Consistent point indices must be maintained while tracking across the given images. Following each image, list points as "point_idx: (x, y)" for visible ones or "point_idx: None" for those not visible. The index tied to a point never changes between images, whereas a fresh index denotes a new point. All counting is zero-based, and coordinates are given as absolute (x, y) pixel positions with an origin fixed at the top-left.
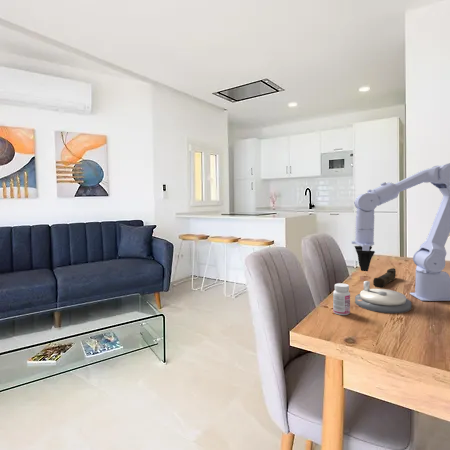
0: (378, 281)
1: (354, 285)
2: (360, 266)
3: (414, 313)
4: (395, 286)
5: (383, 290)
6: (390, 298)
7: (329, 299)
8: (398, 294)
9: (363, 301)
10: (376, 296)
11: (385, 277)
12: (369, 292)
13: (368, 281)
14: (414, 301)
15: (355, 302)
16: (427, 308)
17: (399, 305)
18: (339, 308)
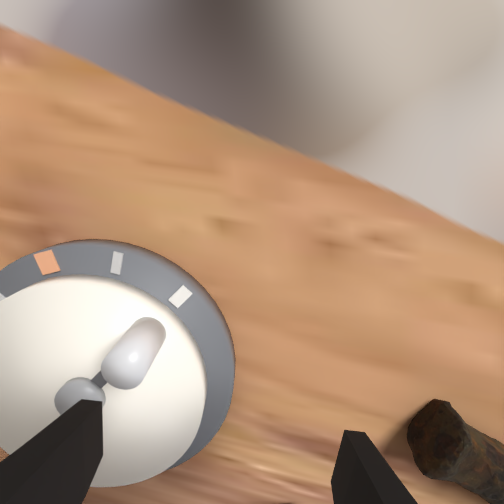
0: (435, 441)
1: (467, 298)
2: (36, 436)
3: None
4: (435, 487)
5: (170, 419)
6: (15, 414)
7: (130, 90)
8: (104, 465)
9: (35, 278)
10: (31, 358)
11: (488, 499)
12: (104, 339)
13: (128, 383)
14: (189, 488)
15: (96, 240)
16: (104, 500)
17: None
18: None
